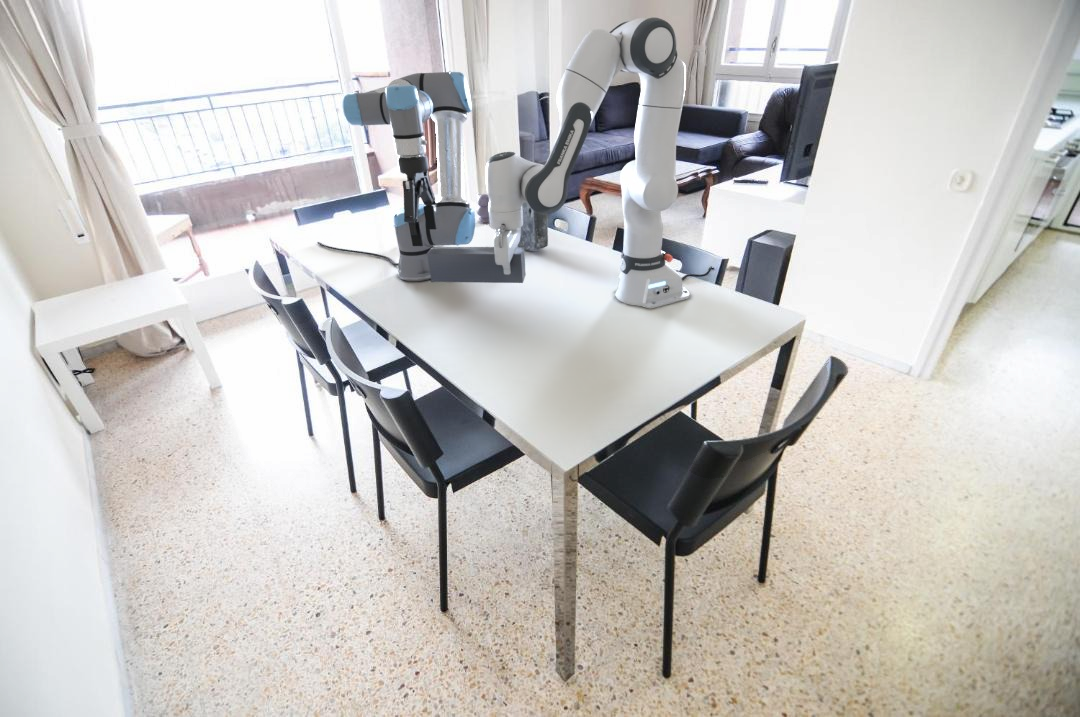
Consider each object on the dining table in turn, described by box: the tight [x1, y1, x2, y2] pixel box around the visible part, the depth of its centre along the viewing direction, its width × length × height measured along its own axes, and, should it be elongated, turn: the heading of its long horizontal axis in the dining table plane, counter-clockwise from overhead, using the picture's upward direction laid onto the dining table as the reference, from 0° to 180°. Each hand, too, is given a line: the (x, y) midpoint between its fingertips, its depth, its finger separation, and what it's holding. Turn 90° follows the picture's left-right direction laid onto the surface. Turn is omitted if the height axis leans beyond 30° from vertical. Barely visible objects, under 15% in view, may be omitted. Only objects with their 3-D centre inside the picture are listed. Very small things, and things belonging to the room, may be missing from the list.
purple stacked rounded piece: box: [476, 193, 490, 224], centre depth 226 cm, size 8×8×12 cm
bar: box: [427, 246, 527, 284], centre depth 138 cm, size 26×6×8 cm, turn 83°
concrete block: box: [517, 202, 549, 252], centre depth 191 cm, size 27×9×20 cm, turn 36°
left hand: (425, 237), depth 136 cm, fingers open, 13 cm apart
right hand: (509, 268), depth 138 cm, fingers closed on bar, 5 cm apart
